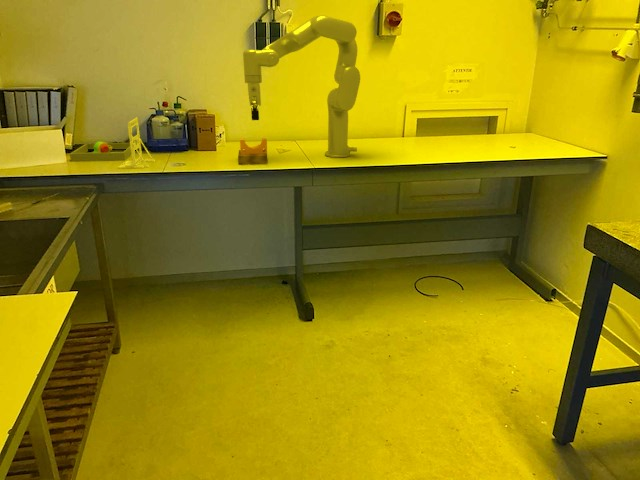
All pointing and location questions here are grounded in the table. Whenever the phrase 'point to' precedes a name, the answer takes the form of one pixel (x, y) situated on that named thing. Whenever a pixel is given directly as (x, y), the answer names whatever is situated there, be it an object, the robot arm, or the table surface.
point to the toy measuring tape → (102, 148)
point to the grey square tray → (83, 156)
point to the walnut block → (252, 158)
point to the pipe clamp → (253, 150)
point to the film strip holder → (135, 147)
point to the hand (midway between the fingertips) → (255, 118)
